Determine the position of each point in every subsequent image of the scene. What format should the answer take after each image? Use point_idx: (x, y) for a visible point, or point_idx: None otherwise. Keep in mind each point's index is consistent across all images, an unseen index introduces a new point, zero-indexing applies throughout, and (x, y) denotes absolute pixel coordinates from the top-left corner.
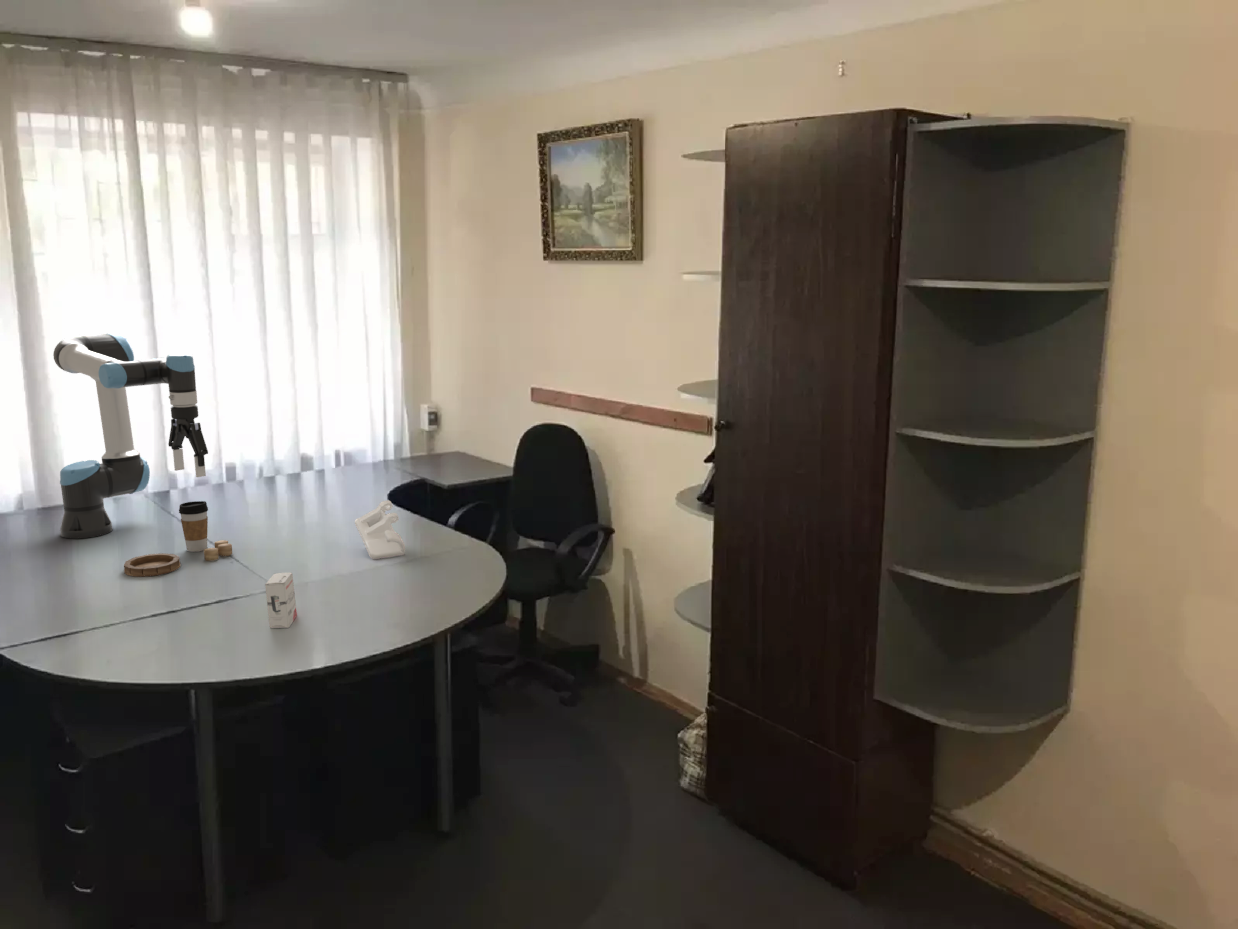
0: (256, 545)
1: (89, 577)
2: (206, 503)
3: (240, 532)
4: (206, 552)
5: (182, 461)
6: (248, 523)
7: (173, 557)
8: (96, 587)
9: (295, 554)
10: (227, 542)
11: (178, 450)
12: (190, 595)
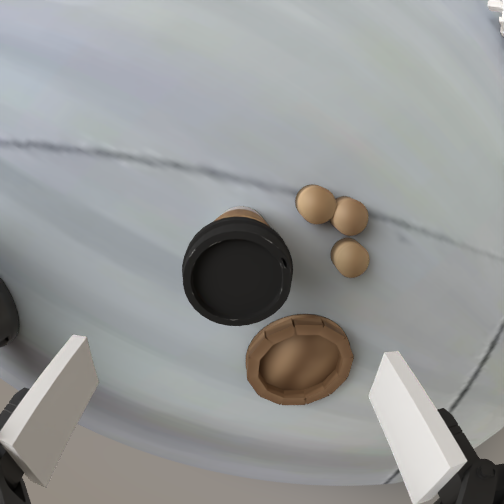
0: (339, 117)
1: (251, 425)
2: (269, 238)
3: (187, 72)
4: (356, 275)
5: (63, 380)
6: (130, 25)
7: (317, 334)
8: (308, 431)
9: (458, 124)
10: (333, 196)
11: (33, 464)
12: (453, 363)
